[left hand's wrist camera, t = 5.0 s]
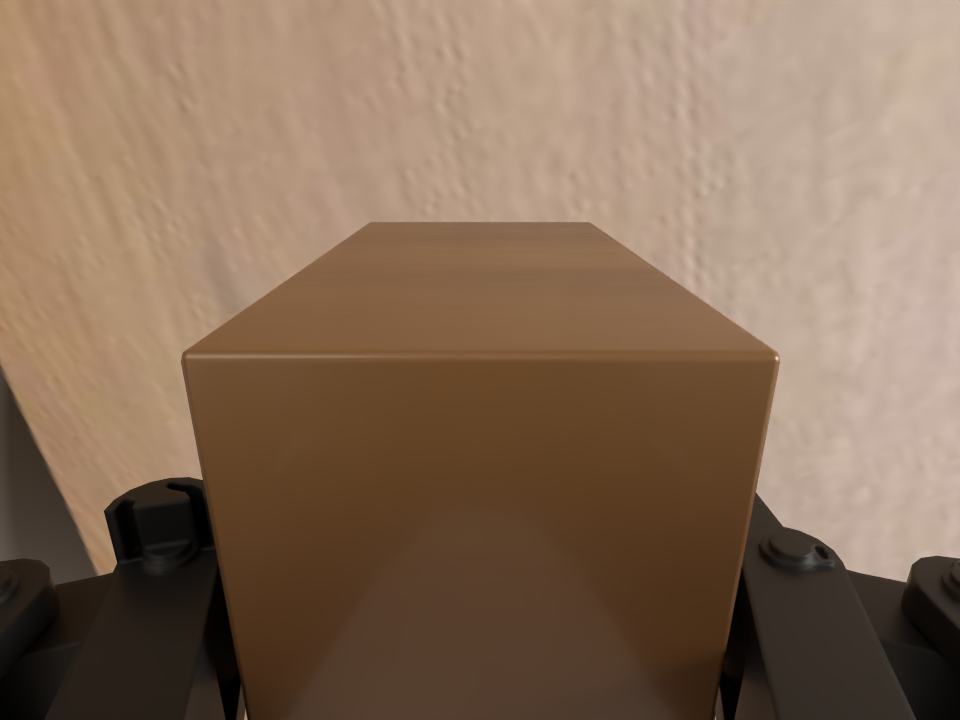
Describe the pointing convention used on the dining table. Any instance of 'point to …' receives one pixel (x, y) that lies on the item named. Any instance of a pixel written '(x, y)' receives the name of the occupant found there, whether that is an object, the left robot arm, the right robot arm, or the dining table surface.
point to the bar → (480, 479)
